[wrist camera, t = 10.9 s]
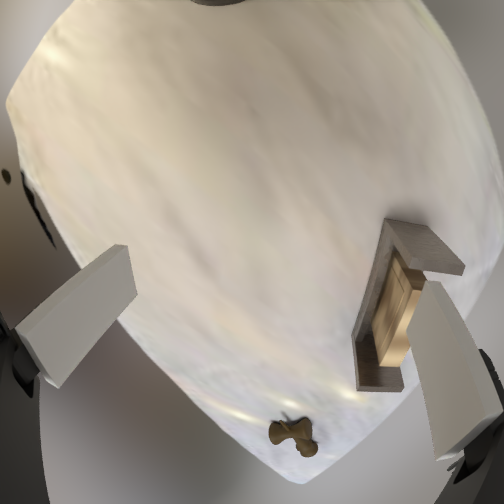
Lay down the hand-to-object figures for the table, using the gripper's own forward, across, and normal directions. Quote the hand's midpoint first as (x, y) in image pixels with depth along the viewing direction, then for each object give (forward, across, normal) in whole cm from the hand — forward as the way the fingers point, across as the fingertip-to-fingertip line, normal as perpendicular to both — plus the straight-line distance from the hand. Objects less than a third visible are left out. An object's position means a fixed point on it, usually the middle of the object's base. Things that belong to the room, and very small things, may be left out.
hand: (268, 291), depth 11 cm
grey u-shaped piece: (+26, +15, -14) cm, 33 cm away
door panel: (+25, +15, -14) cm, 33 cm away
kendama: (+25, +7, -59) cm, 65 cm away
